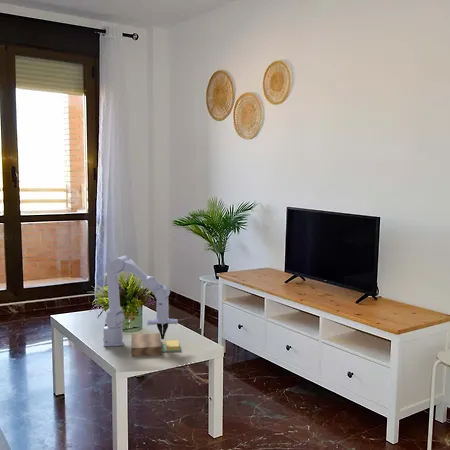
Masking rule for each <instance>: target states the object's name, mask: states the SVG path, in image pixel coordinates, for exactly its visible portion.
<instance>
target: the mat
mask: <svg viewBox="0 0 450 450" xmlns="http://www.w3.org/2000/svg"><path fill="white" fill-rule="evenodd" d="M180 344H181V343H179V350H174V351H167V349H166V343H161V346H162V353H176V352H182V349H181V348H182V347H181V345H180Z"/></svg>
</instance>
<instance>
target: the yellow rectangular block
mask: <svg viewBox="0 0 450 450" xmlns="http://www.w3.org/2000/svg"><path fill="white" fill-rule="evenodd" d="M165 344H166V349H167V351H174V350H179V340H178V339H177V340H173V339H172V340H165Z"/></svg>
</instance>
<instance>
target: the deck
mask: <svg viewBox="0 0 450 450" xmlns="http://www.w3.org/2000/svg"><path fill="white" fill-rule="evenodd" d="M161 340H162V339H161V335H160V332H159V333H158V332H157V333H134V334H131V341H130V342H131V343H130V345H131V347H130V350H131V351H130V352H131V354H130V357H142V356H143V357H145V356H147V357H149V356H162V353H163V352H162V346H161V344H162V341H161Z"/></svg>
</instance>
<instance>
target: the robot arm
mask: <svg viewBox="0 0 450 450" xmlns="http://www.w3.org/2000/svg"><path fill="white" fill-rule="evenodd" d="M122 272H131V273H132V274H133V275H135V277H137V278H138V279H140V280H141V281H143V285H144V286H145V287H146V288H147V289H148V290H149V291H150V292H152V294H154V298H155V299H156V318H155V319H147V323H146V325H147V326H151V325H152V326H153V325H156V327H157V329H158V331H159V333H160V338H161V340H165V335H166V332H167V330H168V328H169V325H172V324H173V325H179V324H178V321H179V320H178V318H176V319H175V318H169V296H170V294H171V289H170V288H169V286H168V285H164V284H163V283H161V282H159V280H157V278H156V276H152V275H148V274H147V273H146V272H145V271H143V269H141V267H139V265H137V264H136V262H135V261H134V260H133V259H132V258H130V256H128V255H122V256H120V257H116V258H114V259H112V260H111V261H110V262H109V266H108V269H107V271H106V283H107V297H108V309H107V311H106V317H105V320H104V321H105V322H104V323H105V324H106V325H107V326H105V325H104V326H103V337H102V338H103V339H102V341H103V347H115V346H116V347H117V346H121V347H122V346H124V345H125V344H124V343H125V340H124V337H123V336H124V334H123V333H124V332H123V321H124V320H126V319H125V318H126V315H125V313H124V311H123V307H121V301H120V300H121V299H120V285H119V284H120V283H119V282H120V281H119V275H120V274H121V273H122Z"/></svg>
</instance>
